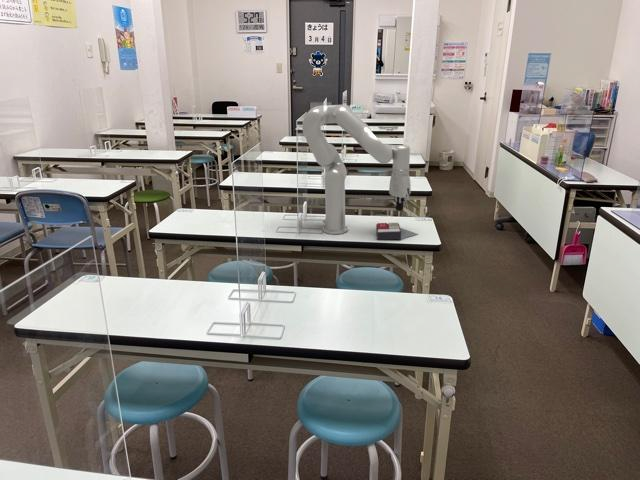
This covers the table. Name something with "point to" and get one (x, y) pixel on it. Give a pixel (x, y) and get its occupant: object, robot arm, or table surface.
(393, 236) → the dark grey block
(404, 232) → the mat
